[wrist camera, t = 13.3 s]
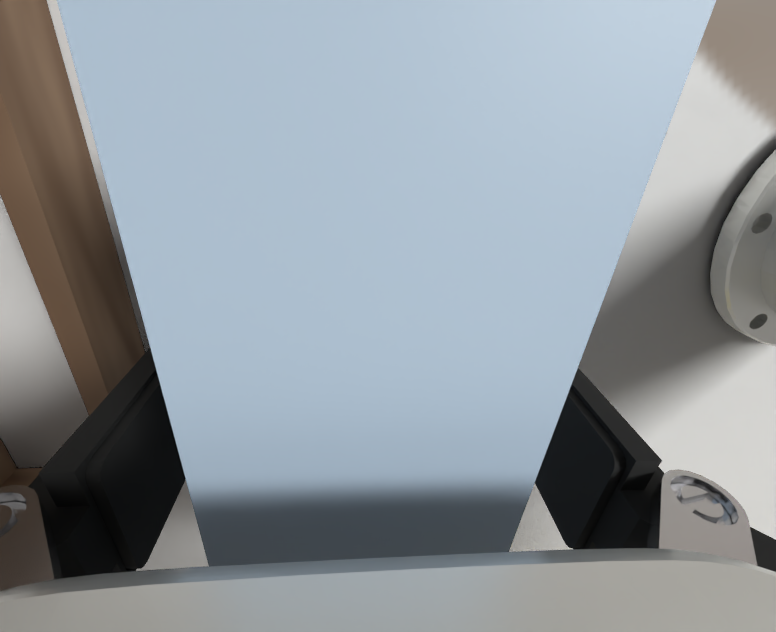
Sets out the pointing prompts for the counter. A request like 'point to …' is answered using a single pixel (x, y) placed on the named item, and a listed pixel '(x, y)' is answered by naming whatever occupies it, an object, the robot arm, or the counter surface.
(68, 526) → the robot arm
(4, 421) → the counter surface
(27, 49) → the rack
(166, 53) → the blue-grey rectangular block
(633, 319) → the counter surface
